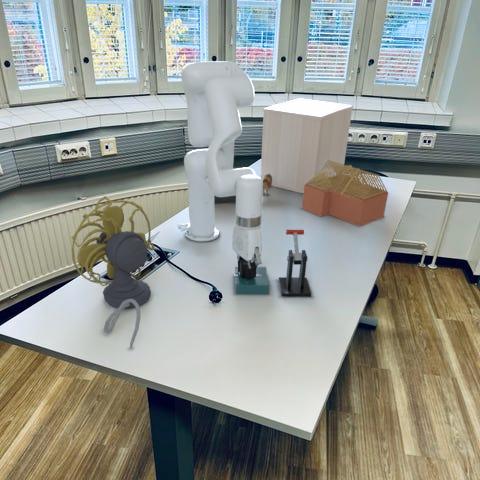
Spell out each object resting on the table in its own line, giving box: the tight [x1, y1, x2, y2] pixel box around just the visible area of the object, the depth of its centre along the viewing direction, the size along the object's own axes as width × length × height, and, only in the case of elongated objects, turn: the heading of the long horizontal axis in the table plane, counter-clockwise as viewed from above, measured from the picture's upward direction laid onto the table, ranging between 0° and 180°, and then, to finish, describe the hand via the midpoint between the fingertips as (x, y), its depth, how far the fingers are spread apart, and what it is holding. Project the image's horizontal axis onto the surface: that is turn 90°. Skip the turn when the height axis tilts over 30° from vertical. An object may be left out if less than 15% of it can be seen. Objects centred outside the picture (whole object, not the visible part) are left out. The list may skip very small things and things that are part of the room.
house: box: [301, 160, 389, 227], centre depth 194 cm, size 28×23×19 cm
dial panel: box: [233, 266, 270, 295], centre depth 146 cm, size 11×12×3 cm
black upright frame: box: [278, 249, 312, 298], centre depth 142 cm, size 10×9×12 cm
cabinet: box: [260, 98, 354, 194], centre depth 225 cm, size 35×29×34 cm
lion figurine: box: [263, 174, 272, 196], centre depth 212 cm, size 15×5×9 cm, turn 137°
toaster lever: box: [285, 229, 305, 266], centre depth 142 cm, size 12×6×2 cm
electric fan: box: [71, 195, 155, 349], centre depth 125 cm, size 26×32×30 cm
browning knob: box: [240, 258, 254, 279], centre depth 144 cm, size 4×4×5 cm
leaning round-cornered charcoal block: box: [214, 195, 236, 204], centre depth 205 cm, size 16×5×9 cm, turn 96°
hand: (246, 274), depth 145 cm, fingers closed on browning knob, 4 cm apart
